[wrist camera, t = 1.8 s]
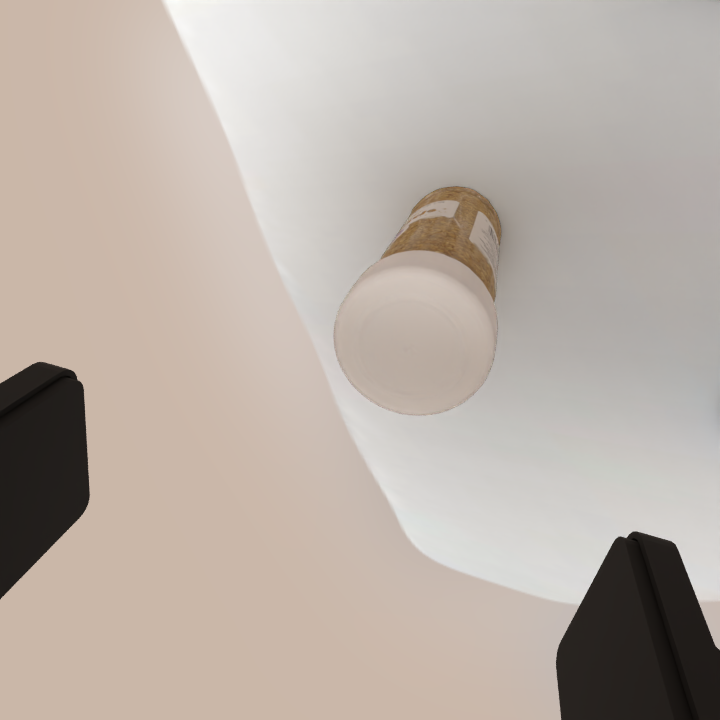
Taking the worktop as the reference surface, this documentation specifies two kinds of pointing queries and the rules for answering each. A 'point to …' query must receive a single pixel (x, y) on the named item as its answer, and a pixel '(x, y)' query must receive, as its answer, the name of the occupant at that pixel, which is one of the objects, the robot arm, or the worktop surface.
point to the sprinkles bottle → (426, 308)
